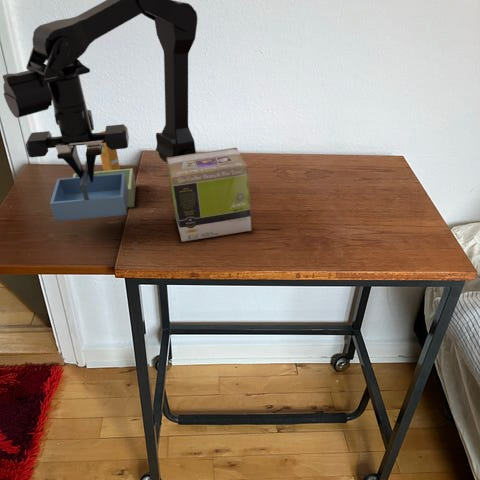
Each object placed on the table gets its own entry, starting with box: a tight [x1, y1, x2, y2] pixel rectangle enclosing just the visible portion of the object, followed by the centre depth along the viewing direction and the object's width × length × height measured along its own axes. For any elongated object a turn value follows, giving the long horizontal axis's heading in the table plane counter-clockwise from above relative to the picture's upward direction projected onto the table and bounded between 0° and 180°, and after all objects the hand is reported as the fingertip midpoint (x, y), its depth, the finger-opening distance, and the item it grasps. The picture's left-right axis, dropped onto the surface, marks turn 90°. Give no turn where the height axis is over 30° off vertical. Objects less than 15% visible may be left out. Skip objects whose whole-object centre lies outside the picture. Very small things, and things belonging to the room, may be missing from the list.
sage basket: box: [72, 168, 137, 208], centre depth 125 cm, size 14×11×4 cm
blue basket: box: [49, 160, 128, 222], centre depth 108 cm, size 14×11×7 cm
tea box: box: [166, 147, 252, 243], centre depth 110 cm, size 15×10×15 cm, turn 102°
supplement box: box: [99, 130, 121, 171], centre depth 135 cm, size 3×3×10 cm
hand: (88, 181), depth 108 cm, fingers closed on blue basket
